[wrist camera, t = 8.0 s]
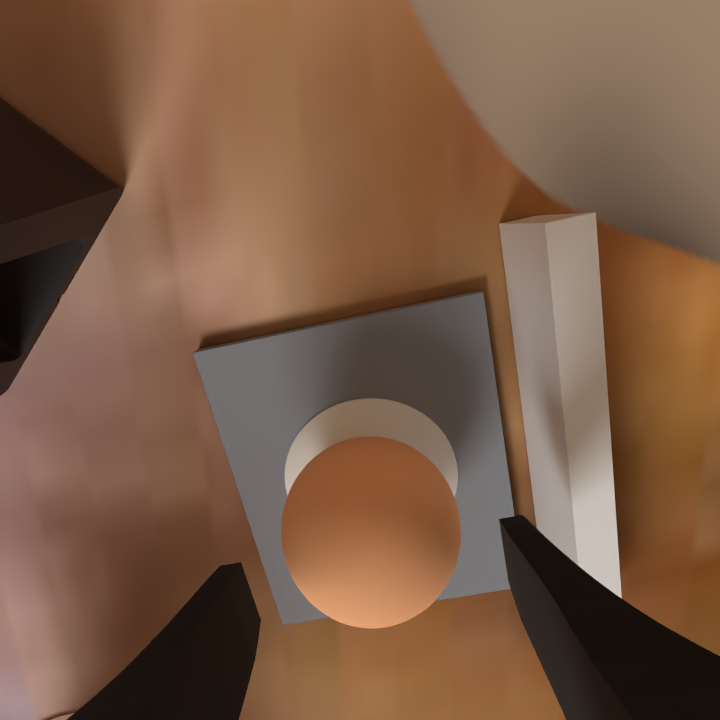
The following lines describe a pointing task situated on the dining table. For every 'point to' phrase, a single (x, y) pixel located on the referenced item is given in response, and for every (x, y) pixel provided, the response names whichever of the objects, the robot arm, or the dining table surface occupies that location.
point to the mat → (367, 421)
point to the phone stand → (41, 230)
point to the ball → (371, 532)
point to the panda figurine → (63, 717)
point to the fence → (564, 384)
